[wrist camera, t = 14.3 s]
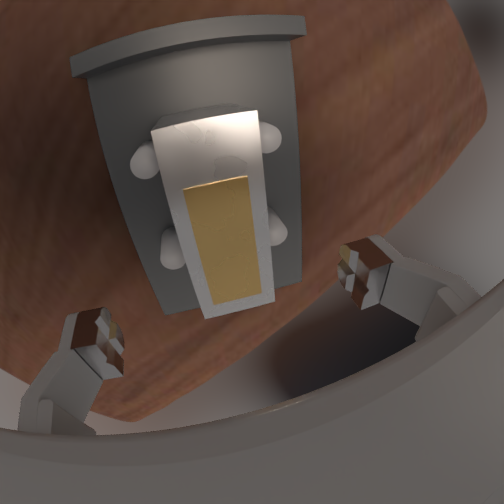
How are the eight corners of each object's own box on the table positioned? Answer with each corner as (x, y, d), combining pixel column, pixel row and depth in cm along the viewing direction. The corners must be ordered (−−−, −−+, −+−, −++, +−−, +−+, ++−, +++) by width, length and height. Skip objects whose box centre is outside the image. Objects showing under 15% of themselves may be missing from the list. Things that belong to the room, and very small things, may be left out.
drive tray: (165, 305, 23) (166, 338, 20) (90, 62, 11) (68, 57, 8) (296, 273, 24) (313, 300, 21) (280, 27, 13) (305, 15, 10)
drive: (161, 116, 13) (150, 131, 9) (229, 102, 14) (257, 110, 9) (195, 257, 19) (205, 320, 14) (249, 244, 20) (275, 302, 15)
